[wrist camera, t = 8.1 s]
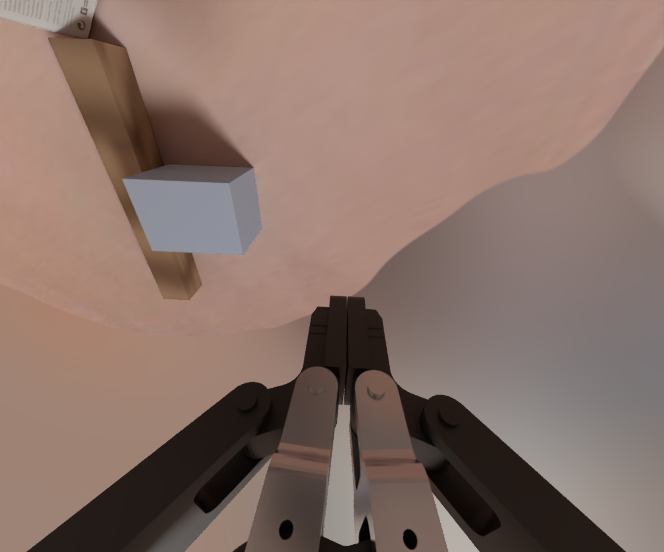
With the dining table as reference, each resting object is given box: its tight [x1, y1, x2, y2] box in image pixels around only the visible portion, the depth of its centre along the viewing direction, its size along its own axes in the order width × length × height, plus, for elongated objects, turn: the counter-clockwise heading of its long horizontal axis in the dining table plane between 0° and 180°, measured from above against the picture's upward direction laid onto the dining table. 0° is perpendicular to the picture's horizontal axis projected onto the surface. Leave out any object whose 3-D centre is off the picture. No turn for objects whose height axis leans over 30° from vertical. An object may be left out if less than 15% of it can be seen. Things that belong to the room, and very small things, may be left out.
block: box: [122, 164, 262, 255], centre depth 23 cm, size 6×8×6 cm
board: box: [48, 38, 202, 300], centre depth 24 cm, size 22×3×3 cm, turn 178°
